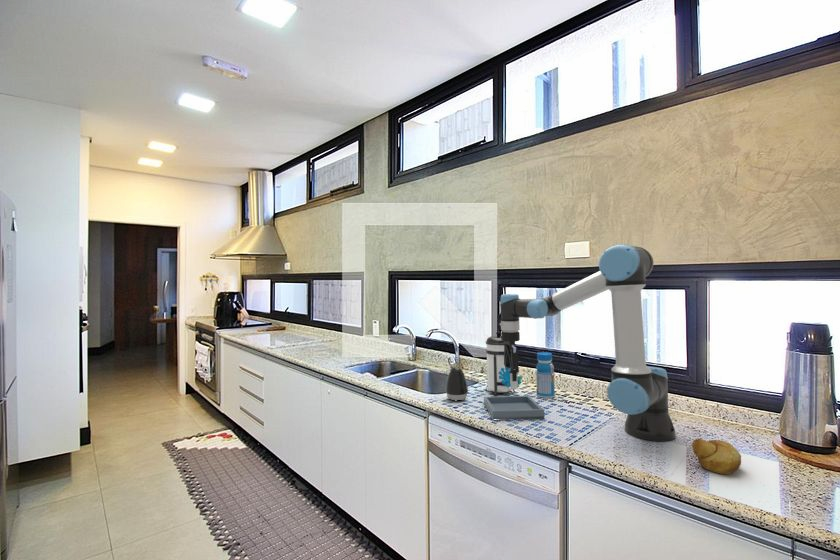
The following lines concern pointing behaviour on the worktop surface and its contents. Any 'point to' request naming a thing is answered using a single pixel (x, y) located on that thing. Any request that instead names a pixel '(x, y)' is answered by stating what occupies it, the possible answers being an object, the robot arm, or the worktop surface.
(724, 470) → the bread roll
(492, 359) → the coffee press
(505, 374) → the gear
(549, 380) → the beverage bottle
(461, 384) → the pump dispenser
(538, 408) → the tray
